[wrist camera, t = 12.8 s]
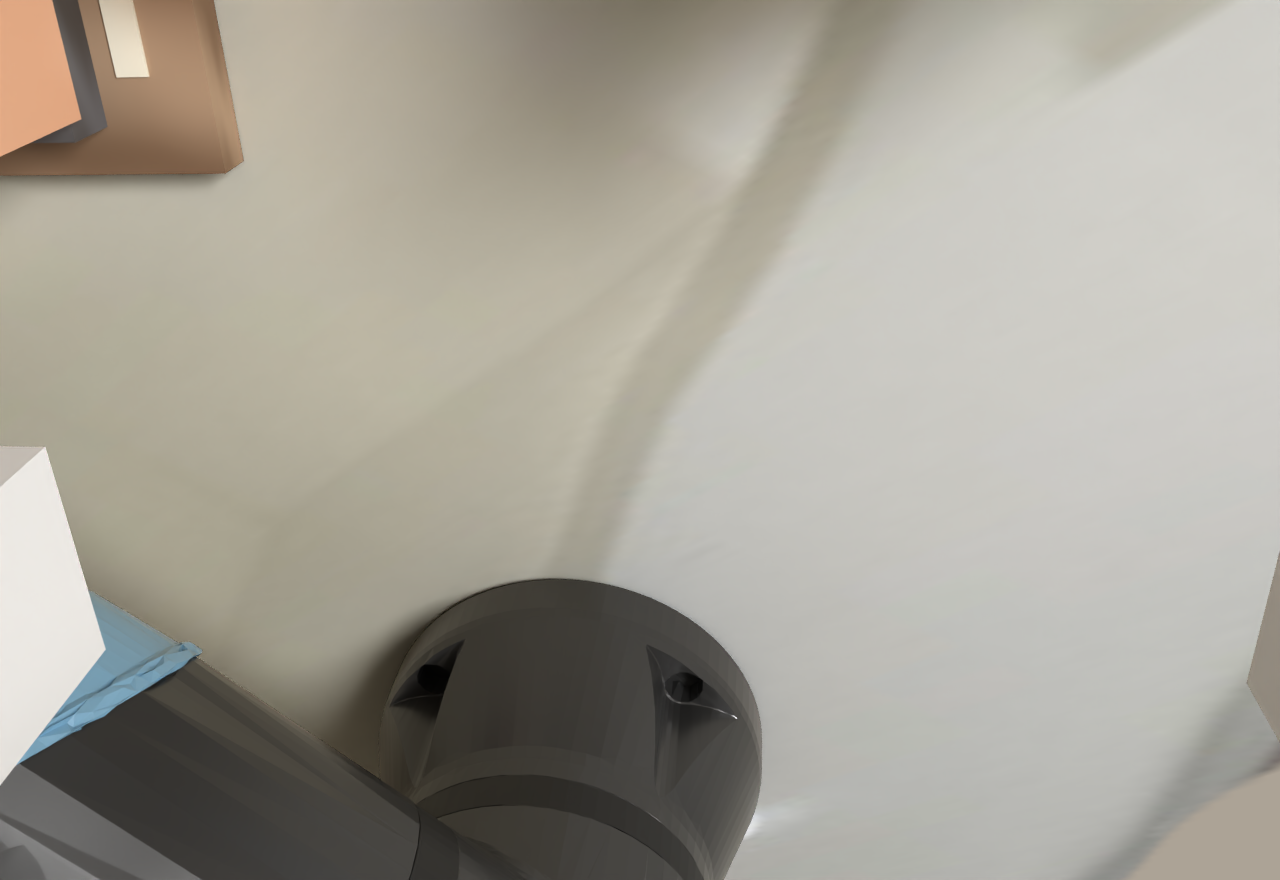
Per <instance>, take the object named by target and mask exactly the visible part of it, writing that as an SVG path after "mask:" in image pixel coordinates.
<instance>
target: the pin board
mask: <svg viewBox="0 0 1280 880" xmlns="http://www.w3.org/2000/svg"><path fill="white" fill-rule="evenodd" d="M52 1H53V5H54V10H55V14H56V18H57V22H58V26H59V30H60V34H61V38H62V42H63V46H64V50H65V54H66V58H67V62H68V66H69V70H70V75H71V79H72V83H73V87H74V91H75V95H76V99H77V103H78V107H79V111H80V115H81V120H78V121H76V122H74V123H72V124H70V125H68V126H66V127H63V128H61V129H59V130H57V131H55V132H53V133H50V134H48V135H46V136H44V137H42V138H40V139H37V140H35V141H33V142H31V143H29V144H27V145H24V146H22V147H20V148H18V149H16V150H14V151H11V152H9V153H7V154H5V155H3V156H1V157H0V176H1V175H107V174H213V173H227V172H228V171H230V170H231V169H233V168H234V167H236V166H237V165H238V164H240V163H241V162H243V161H244V160H243V155H242V149H241V144H240V139H239V133H238V128H237V123H236V117H235V112H234V107H233V101H232V96H231V91H230V85H229V80H228V75H227V69H226V64H225V59H224V53H223V48H222V43H221V37H220V32H219V27H218V21H217V16H216V11H215V5H214V0H52Z"/></svg>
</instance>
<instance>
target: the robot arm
mask: <svg viewBox="0 0 1280 880" xmlns="http://www.w3.org/2000/svg"><path fill="white" fill-rule="evenodd" d="M201 652H202V649H200V648H199V647H197V646H196V645H195V644H193V643H191V642H180V643H178V642H176V641H174V640H173V639H171V638H169V637H168V636H166V635H164V634H163V633H161V632H159V631H158V630H156V629H154V628H153V627H151V626H149V625H148V624H146V623H144V622H142V621H141V620H139V619H137V618H136V617H134V616H132V615H131V614H129V613H127V612H126V611H124V610H122V609H121V608H119V607H117V606H116V605H114V604H112V603H111V602H109V601H107V600H106V599H104V598H102V597H101V596H99V595H97V594H96V593H94V592H92V591H90V590H88V588H87V585H86V582H85V578H84V575H83V572H82V568H81V565H80V562H79V558H78V555H77V552H76V548H75V545H74V541H73V538H72V535H71V531H70V528H69V525H68V521H67V518H66V515H65V511H64V508H63V505H62V501H61V498H60V494H59V491H58V488H57V484H56V481H55V478H54V474H53V471H52V468H51V464H50V461H49V458H48V454H47V451H46V448H45V447H31V446H0V880H724V878H725V876H726V874H727V872H728V869H729V867H730V865H731V863H732V861H733V859H734V857H735V854H736V852H737V850H738V848H739V846H740V844H741V842H742V840H743V837H744V835H745V833H746V831H747V829H748V827H749V825H750V822H751V820H752V817H753V815H754V812H755V809H756V805H757V801H758V797H759V792H760V786H761V774H762V731H761V722H760V716H759V712H758V708H757V705H756V702H755V698H754V696H753V693H752V691H751V689H750V686H749V684H748V682H747V681H746V679H745V677H744V675H743V673H742V672H741V670H740V669H739V667H738V666H737V664H736V663H735V662H734V660H733V659H732V658H731V656H730V655H729V654H728V653H727V652H726V651H725V649H724V648H723V647H722V646H721V645H720V644H719V643H718V642H717V641H716V640H715V639H714V638H713V637H712V636H711V635H709V634H708V633H707V632H706V631H705V630H703V629H702V628H701V627H700V626H698V625H697V624H696V623H694V622H693V621H691V620H690V619H689V618H687V617H685V616H684V615H682V614H681V613H679V612H677V611H676V610H674V609H672V608H670V607H668V606H666V605H664V604H662V603H660V602H658V601H656V600H654V599H651V598H649V597H646V596H644V595H641V594H638V593H636V592H632V591H629V590H626V589H623V588H619V587H615V586H611V585H606V584H601V583H595V582H588V581H579V580H538V581H529V582H521V583H516V584H511V585H506V586H503V587H499V588H495V589H492V590H489V591H486V592H484V593H481V594H478V595H476V596H474V597H472V598H469V599H467V600H465V601H463V602H462V603H460V604H458V605H456V606H455V607H453V608H451V609H450V610H448V611H447V612H445V613H444V614H443V615H441V616H440V617H439V618H437V619H436V620H435V621H434V622H433V623H432V624H431V625H430V626H428V627H427V628H426V629H425V631H424V632H423V633H422V634H421V635H420V636H419V637H418V638H417V640H416V641H415V642H414V644H413V645H412V647H411V648H410V650H409V651H408V653H407V655H406V656H405V658H404V660H403V662H402V664H401V667H400V669H399V672H398V674H397V676H396V679H395V681H394V684H393V686H392V688H391V691H390V693H389V696H388V699H387V701H386V704H385V707H384V711H383V715H382V720H381V726H380V732H379V768H380V779H379V778H377V777H376V776H374V775H373V774H371V773H370V772H368V771H367V770H365V769H364V768H362V767H361V766H359V765H358V764H356V763H355V762H353V761H352V760H350V759H349V758H347V757H346V756H344V755H343V754H341V753H340V752H338V751H337V750H335V749H334V748H332V747H331V746H329V745H328V744H326V743H325V742H323V741H322V740H320V739H319V738H317V737H316V736H314V735H313V734H311V733H310V732H308V731H307V730H305V729H304V728H302V727H301V726H299V725H298V724H296V723H295V722H293V721H292V720H290V719H289V718H287V717H286V716H284V715H283V714H281V713H280V712H278V711H277V710H275V709H274V708H272V707H271V706H269V705H268V704H266V703H265V702H263V701H262V700H260V699H259V698H257V697H256V696H254V695H253V694H251V693H250V692H248V691H247V690H245V689H243V688H242V687H240V686H239V685H237V684H236V683H234V682H233V681H231V680H230V679H228V678H227V677H225V676H224V675H222V674H221V673H219V672H218V671H216V670H215V669H213V668H212V667H210V666H209V665H207V664H206V663H204V662H203V661H201V660H200V659H198V658H197V657H196V656H198V655H200V654H201ZM1247 684H1248V686H1249V688H1250V690H1251V692H1252V693H1253V695H1254V697H1255V699H1256V701H1257V702H1258V704H1259V706H1260V708H1261V710H1262V711H1263V713H1264V715H1265V717H1266V719H1267V721H1268V722H1269V724H1270V726H1271V728H1272V730H1273V731H1274V733H1275V735H1276V737H1277V739H1278V740H1279V742H1280V552H1279V556H1278V560H1277V564H1276V568H1275V572H1274V576H1273V580H1272V584H1271V588H1270V592H1269V596H1268V600H1267V604H1266V608H1265V612H1264V616H1263V620H1262V624H1261V628H1260V632H1259V636H1258V640H1257V644H1256V648H1255V652H1254V656H1253V660H1252V664H1251V668H1250V672H1249V676H1248V680H1247Z"/></svg>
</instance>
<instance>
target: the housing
mask: <svg viewBox="0 0 1280 880" xmlns="http://www.w3.org/2000/svg"><path fill="white" fill-rule="evenodd" d="M78 120H81V115H80V111H79V107H78V103H77V99H76V95H75V91H74V87H73V83H72V79H71V75H70V70H69V66H68V62H67V58H66V54H65V50H64V46H63V42H62V38H61V34H60V30H59V26H58V22H57V18H56V14H55V10H54V5H53V1H52V0H0V157H1V156H3V155H5V154H7V153H9V152H11V151H14V150H16V149H18V148H20V147H22V146H24V145H27V144H29V143H31V142H33V141H35V140H37V139H40V138H42V137H44V136H46V135H48V134H50V133H53V132H55V131H57V130H59V129H61V128H63V127H66V126H68V125H70V124H72V123H74V122H76V121H78Z"/></svg>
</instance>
